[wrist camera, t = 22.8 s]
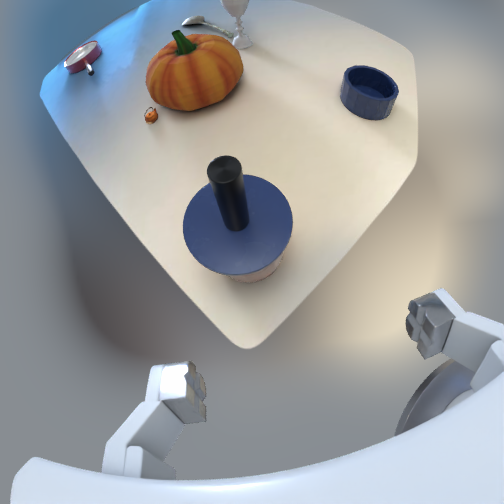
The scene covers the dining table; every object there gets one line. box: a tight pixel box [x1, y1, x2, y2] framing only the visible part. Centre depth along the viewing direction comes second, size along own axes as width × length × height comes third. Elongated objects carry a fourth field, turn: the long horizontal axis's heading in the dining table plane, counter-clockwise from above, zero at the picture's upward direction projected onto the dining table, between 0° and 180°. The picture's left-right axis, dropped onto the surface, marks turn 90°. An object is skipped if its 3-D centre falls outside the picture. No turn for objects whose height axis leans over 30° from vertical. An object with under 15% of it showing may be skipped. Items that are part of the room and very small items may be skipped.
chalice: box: [220, 0, 253, 49], centre depth 44 cm, size 7×7×18 cm
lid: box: [183, 156, 293, 276], centre depth 25 cm, size 11×11×10 cm
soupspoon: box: [182, 16, 234, 38], centre depth 56 cm, size 22×3×7 cm
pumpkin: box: [146, 30, 243, 111], centre depth 42 cm, size 19×19×15 cm
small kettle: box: [145, 107, 158, 124], centre depth 47 cm, size 3×3×3 cm
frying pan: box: [64, 41, 102, 76], centre depth 56 cm, size 32×13×6 cm, turn 42°
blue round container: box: [340, 66, 399, 120], centre depth 42 cm, size 10×10×6 cm
